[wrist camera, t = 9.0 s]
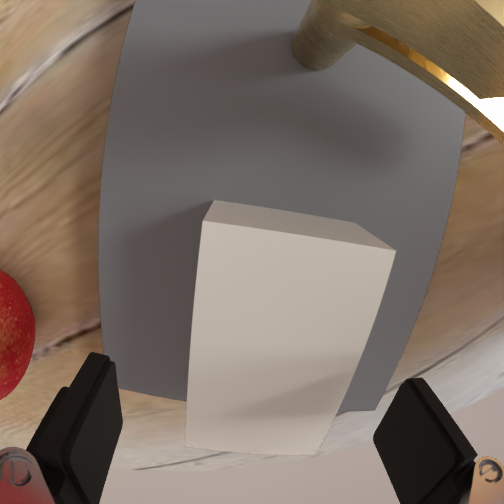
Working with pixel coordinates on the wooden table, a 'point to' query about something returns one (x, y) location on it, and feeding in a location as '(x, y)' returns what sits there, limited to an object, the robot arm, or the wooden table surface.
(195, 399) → the white rectangular block
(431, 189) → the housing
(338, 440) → the wooden table surface
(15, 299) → the apple
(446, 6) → the key
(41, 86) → the wooden table surface
